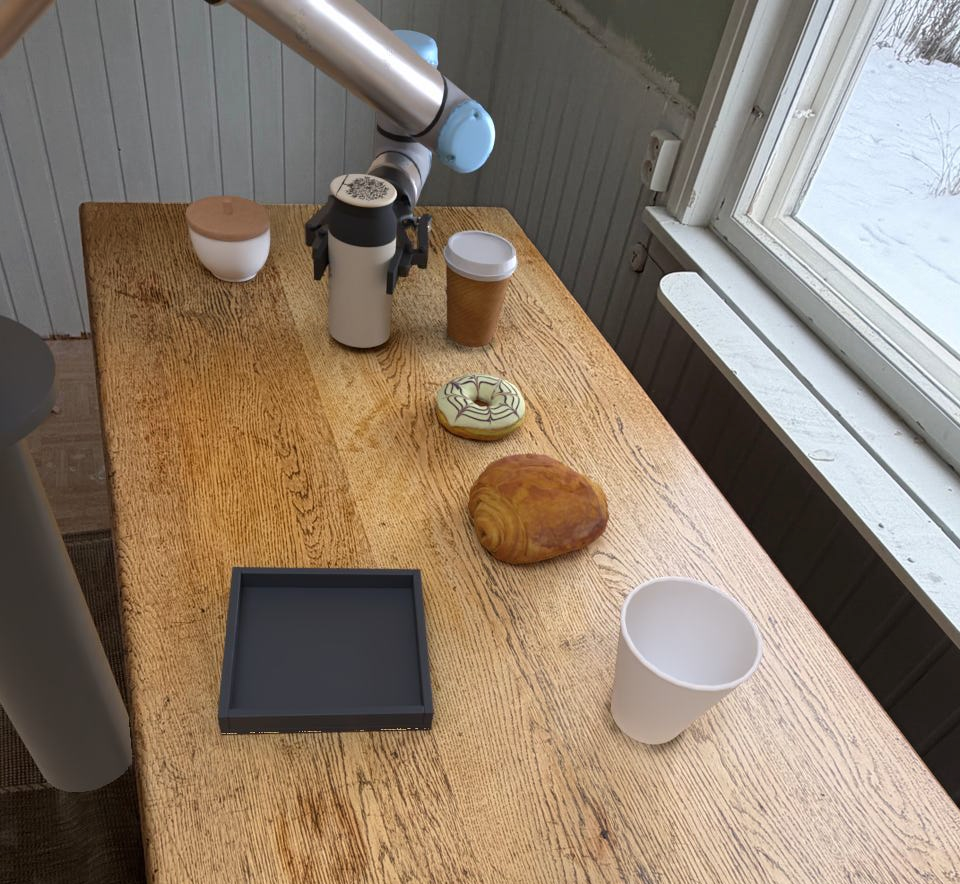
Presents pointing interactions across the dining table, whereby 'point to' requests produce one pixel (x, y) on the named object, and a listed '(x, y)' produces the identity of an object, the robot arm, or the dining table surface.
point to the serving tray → (325, 651)
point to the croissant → (535, 508)
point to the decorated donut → (480, 407)
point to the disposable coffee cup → (476, 284)
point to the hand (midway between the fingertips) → (353, 276)
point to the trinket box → (229, 236)
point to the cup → (678, 656)
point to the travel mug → (360, 259)
